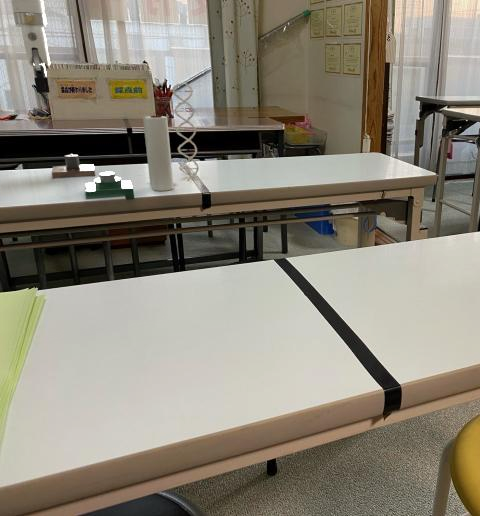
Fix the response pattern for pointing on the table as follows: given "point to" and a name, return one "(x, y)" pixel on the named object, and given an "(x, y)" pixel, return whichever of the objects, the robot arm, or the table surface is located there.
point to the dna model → (183, 130)
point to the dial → (72, 161)
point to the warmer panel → (73, 171)
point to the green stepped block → (109, 189)
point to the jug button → (107, 176)
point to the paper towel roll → (158, 152)
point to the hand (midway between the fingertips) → (43, 92)
